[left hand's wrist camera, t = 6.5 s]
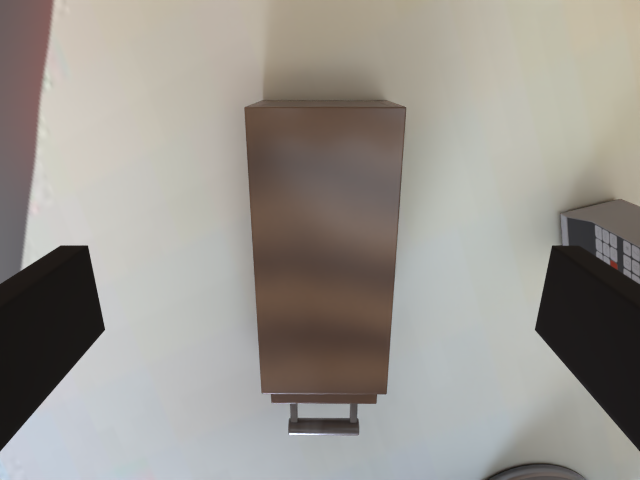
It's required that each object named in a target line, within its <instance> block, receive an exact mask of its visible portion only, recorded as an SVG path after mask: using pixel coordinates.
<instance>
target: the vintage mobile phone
mask: <svg viewBox="0 0 640 480" xmlns="http://www.w3.org/2000/svg"><path fill="white" fill-rule="evenodd" d="M561 228H562V243H563V246H581V247H582V248H584V249H585V250H587V251H589V252H590V253H592V254H593V255H595V256H596V257H598V258H600V259H601V260H603V261H604V262H606V263H607V264H609V265H611V266H612V267H614V268H615V269H617V270H618V271H620V272H622V273H623V274H625V275H626V276H628V277H629V278H631V279H633V280H634V281H636V282H637V283H639V284H640V207H639V206H637V205H634V204H632V203H629V202H627V201H624V200H622V199H618V200H614V201H610V202H605V203H601V204H597V205H593V206H589V207H585V208H580V209H576V210H572V211H568V212H564V213H561Z"/></svg>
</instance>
